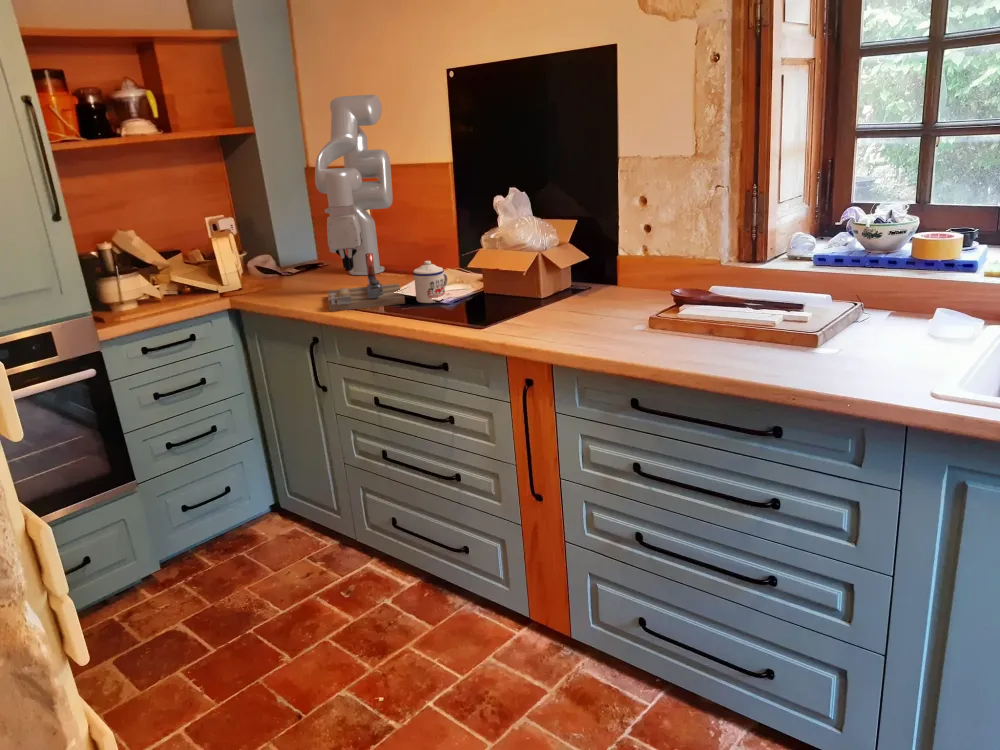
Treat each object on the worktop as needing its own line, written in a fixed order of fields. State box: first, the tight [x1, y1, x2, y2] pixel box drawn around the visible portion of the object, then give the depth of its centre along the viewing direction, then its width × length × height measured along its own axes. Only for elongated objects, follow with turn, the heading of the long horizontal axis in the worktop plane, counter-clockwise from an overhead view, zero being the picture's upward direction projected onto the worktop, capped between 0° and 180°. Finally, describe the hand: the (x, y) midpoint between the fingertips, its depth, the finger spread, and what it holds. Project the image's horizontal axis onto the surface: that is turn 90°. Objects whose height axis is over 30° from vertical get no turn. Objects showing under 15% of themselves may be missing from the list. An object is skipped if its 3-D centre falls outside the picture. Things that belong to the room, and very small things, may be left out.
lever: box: [365, 253, 383, 299], centre depth 230 cm, size 23×5×10 cm, turn 13°
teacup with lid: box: [412, 260, 449, 304], centre depth 225 cm, size 12×9×12 cm
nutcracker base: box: [327, 279, 406, 312], centre depth 229 cm, size 21×22×6 cm
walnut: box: [336, 287, 350, 297], centre depth 221 cm, size 4×4×4 cm
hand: (349, 269), depth 240 cm, fingers closed
